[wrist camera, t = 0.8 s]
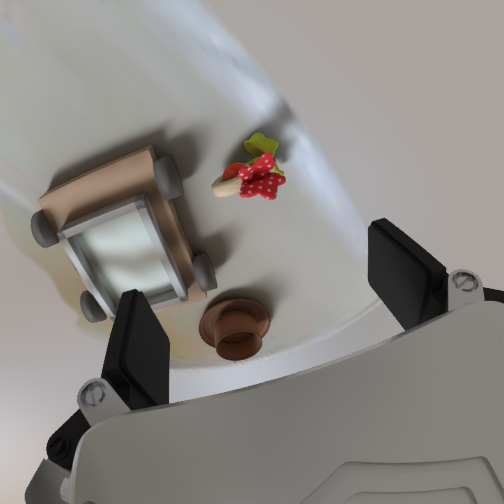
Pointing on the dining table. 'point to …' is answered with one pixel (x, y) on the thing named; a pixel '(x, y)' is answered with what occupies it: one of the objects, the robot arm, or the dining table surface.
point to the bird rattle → (252, 172)
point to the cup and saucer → (235, 328)
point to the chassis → (125, 235)
